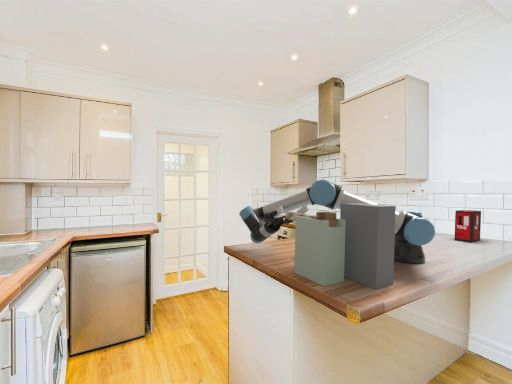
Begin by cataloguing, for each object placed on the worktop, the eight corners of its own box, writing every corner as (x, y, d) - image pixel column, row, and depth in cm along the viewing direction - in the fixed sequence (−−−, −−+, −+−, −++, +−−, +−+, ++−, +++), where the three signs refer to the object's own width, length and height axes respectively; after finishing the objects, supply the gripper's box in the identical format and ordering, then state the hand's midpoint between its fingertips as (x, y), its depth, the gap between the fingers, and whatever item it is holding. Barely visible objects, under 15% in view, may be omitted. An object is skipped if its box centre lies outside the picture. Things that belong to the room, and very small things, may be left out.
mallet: (283, 218, 112) (283, 207, 112) (292, 218, 115) (292, 207, 115) (326, 227, 91) (326, 213, 91) (336, 226, 93) (336, 212, 93)
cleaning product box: (463, 238, 181) (464, 209, 181) (479, 240, 174) (481, 211, 173) (454, 240, 172) (455, 210, 171) (471, 243, 164) (472, 212, 164)
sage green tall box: (294, 272, 102) (295, 216, 101) (313, 268, 107) (314, 215, 106) (324, 286, 88) (325, 221, 88) (343, 281, 93) (345, 219, 93)
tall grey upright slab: (338, 274, 100) (340, 203, 100) (355, 270, 106) (357, 202, 105) (376, 289, 87) (378, 206, 86) (393, 283, 92) (395, 205, 91)
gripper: (292, 232, 130) (319, 215, 114) (249, 236, 117) (273, 217, 101) (288, 218, 133) (313, 200, 117) (246, 221, 120) (268, 200, 104)
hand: (294, 208), depth 109 cm, fingers open, 13 cm apart
